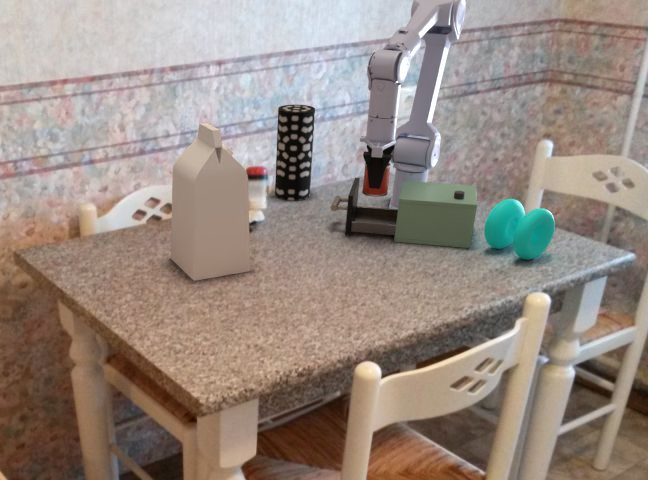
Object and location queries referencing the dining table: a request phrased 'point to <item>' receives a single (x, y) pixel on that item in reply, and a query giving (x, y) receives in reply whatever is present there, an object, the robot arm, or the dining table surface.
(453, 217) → the green box with knob
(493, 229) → the turquoise yo-yo
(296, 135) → the spotted tube
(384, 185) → the can
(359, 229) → the open drawer with handle
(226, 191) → the milk
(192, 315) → the dining table surface
